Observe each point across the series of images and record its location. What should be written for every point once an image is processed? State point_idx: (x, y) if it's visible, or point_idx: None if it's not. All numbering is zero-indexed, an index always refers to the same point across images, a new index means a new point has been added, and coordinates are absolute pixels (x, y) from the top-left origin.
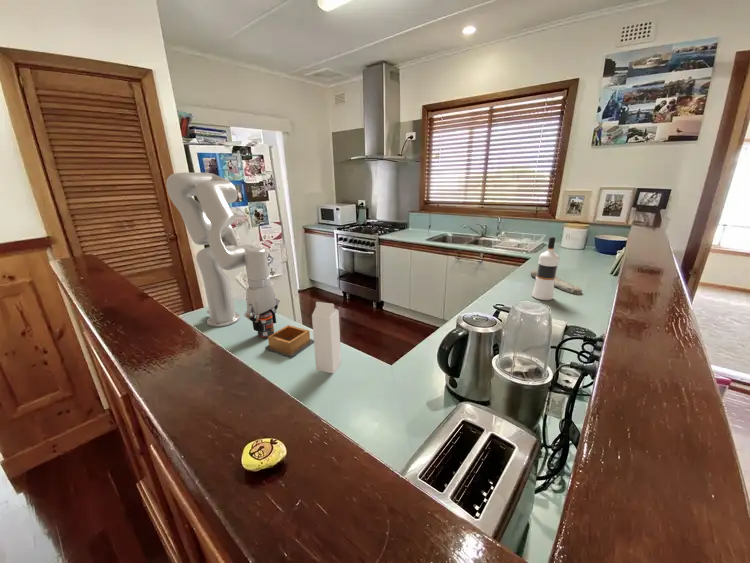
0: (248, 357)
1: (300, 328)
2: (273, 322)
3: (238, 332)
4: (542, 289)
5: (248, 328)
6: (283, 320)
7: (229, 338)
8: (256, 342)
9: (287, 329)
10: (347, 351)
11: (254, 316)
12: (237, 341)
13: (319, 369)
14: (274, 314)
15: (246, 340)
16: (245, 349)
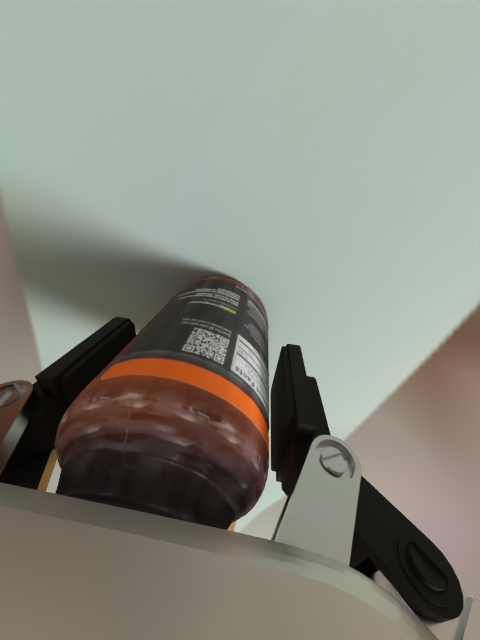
0: (47, 362)
1: (233, 525)
2: (273, 386)
3: (147, 39)
4: None
5: (255, 77)
6: (465, 298)
7: (35, 67)
8: (135, 319)
9: None
10: (237, 532)
11: (8, 446)
12: (66, 196)
13: None
14: (278, 477)
15: (113, 249)
16: (63, 313)
